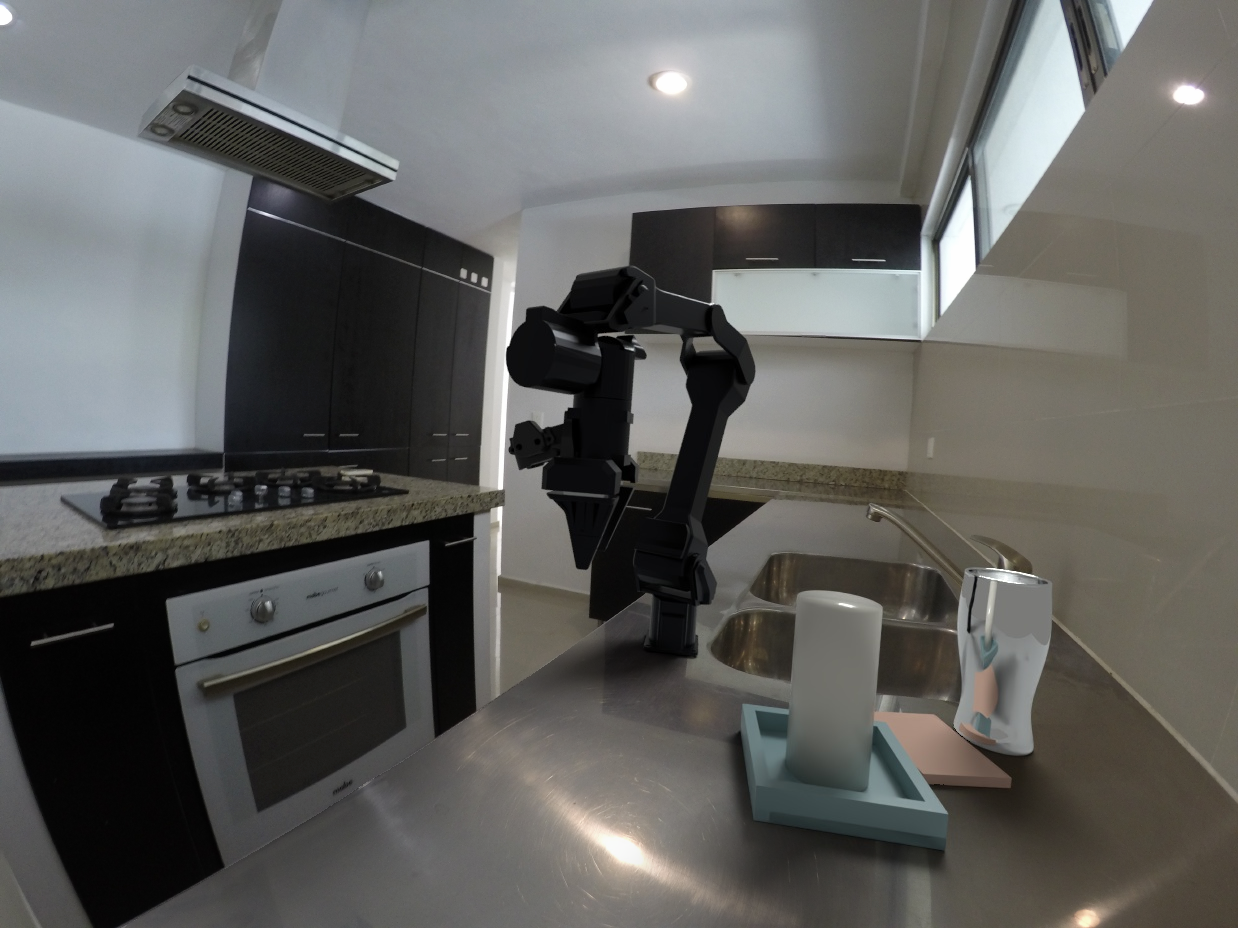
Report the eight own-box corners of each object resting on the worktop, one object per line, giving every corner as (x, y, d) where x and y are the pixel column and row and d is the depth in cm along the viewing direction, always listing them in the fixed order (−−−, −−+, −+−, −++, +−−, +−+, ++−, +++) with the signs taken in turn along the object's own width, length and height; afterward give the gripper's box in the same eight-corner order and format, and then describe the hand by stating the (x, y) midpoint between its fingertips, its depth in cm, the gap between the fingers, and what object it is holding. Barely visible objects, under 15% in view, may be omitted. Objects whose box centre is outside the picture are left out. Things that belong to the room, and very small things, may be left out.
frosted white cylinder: (779, 743, 46) (790, 587, 45) (855, 752, 45) (868, 594, 44) (792, 787, 40) (805, 608, 39) (880, 799, 39) (895, 617, 38)
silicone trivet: (861, 718, 53) (862, 710, 53) (933, 722, 53) (934, 714, 53) (922, 783, 43) (923, 773, 43) (1010, 787, 43) (1011, 777, 43)
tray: (740, 729, 49) (742, 703, 49) (883, 749, 47) (885, 721, 47) (753, 819, 37) (756, 785, 37) (945, 850, 35) (948, 813, 35)
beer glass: (997, 762, 46) (1013, 585, 46) (930, 721, 53) (944, 566, 53) (1059, 755, 48) (1076, 585, 48) (987, 715, 55) (1001, 566, 54)
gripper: (548, 403, 64) (539, 536, 65) (487, 385, 46) (476, 571, 46) (643, 409, 63) (633, 545, 63) (620, 392, 44) (607, 585, 45)
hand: (591, 559), depth 55 cm, fingers open, 9 cm apart
